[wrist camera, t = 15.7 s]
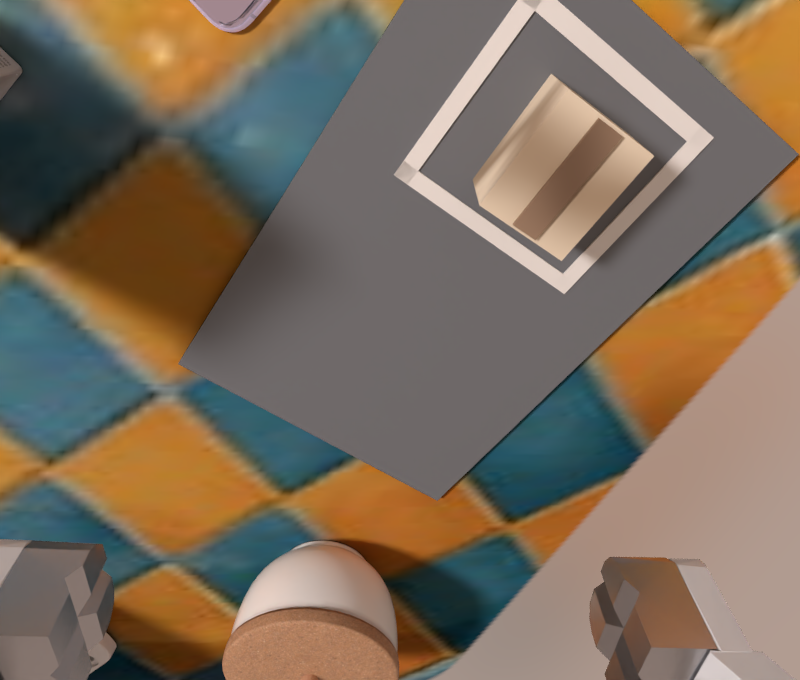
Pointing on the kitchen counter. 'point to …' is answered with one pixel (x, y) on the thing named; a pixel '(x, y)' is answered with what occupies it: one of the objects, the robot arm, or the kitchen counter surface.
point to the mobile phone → (230, 12)
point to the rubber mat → (470, 233)
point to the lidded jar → (315, 620)
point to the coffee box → (7, 72)
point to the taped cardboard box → (558, 169)
